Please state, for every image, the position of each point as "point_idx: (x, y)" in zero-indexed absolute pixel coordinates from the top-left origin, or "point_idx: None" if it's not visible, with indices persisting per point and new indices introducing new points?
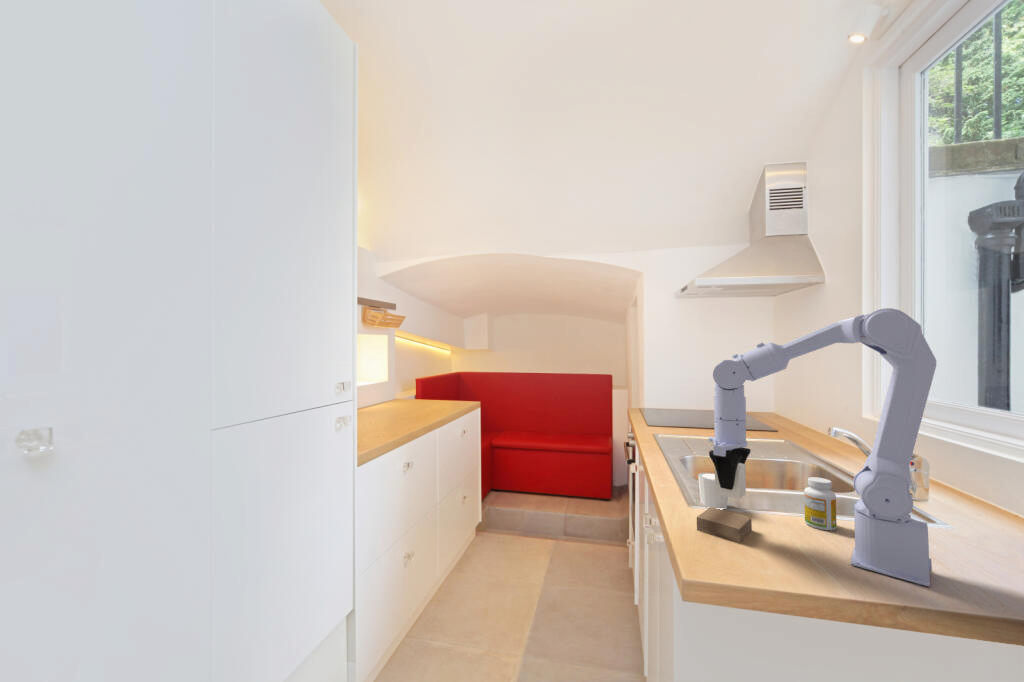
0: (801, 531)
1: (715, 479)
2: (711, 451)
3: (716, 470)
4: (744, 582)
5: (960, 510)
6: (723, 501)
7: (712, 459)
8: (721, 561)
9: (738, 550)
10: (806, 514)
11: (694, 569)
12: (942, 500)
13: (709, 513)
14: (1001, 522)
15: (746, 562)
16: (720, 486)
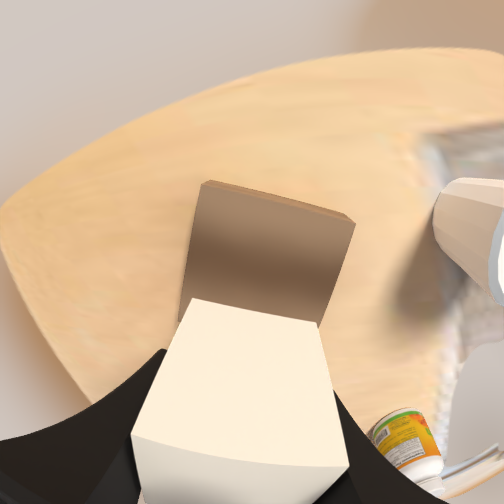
0: (352, 407)
1: (170, 347)
2: (8, 499)
3: (96, 402)
4: (31, 300)
5: (471, 479)
6: (453, 257)
7: (19, 441)
8: (64, 263)
9: (140, 297)
10: (401, 426)
11: (13, 218)
12: (496, 466)
13: (274, 224)
14: (442, 497)
15: (95, 309)
16: (157, 351)
